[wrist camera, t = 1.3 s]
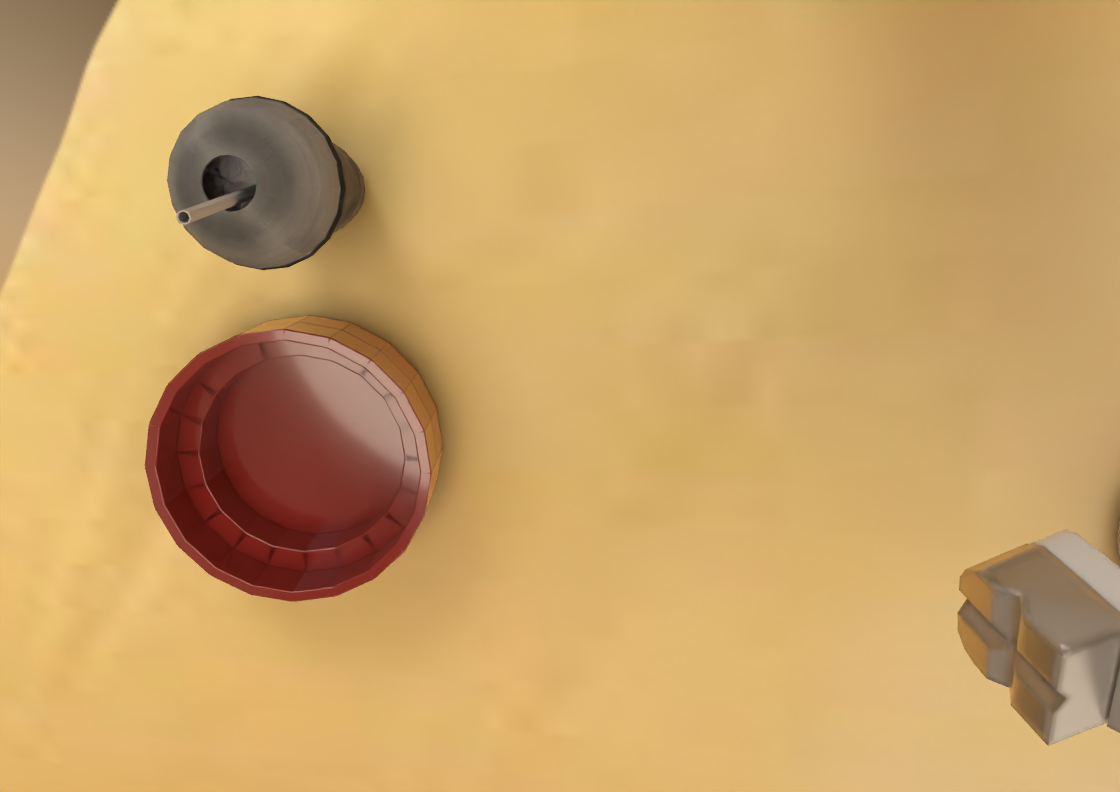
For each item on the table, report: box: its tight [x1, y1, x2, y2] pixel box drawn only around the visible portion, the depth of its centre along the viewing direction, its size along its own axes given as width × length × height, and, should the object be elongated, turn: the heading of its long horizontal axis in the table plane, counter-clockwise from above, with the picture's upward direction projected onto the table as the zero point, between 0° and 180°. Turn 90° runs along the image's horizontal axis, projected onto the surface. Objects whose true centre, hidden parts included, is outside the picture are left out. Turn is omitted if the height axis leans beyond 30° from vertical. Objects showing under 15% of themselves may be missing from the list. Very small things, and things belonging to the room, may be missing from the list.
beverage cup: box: [167, 96, 365, 270], centre depth 39 cm, size 7×7×20 cm
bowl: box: [145, 315, 442, 602], centre depth 49 cm, size 15×15×6 cm
